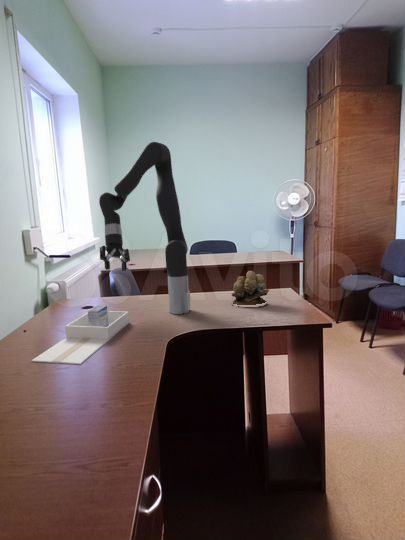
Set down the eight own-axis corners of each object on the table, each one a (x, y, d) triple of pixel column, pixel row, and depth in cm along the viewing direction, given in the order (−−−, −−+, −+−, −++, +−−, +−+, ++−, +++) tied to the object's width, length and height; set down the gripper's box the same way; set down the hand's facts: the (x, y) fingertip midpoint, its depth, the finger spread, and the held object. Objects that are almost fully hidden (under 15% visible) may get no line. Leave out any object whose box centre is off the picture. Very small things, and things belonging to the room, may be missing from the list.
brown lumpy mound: (266, 301, 167) (267, 267, 164) (270, 308, 156) (271, 272, 152) (231, 301, 168) (230, 268, 165) (232, 308, 156) (232, 273, 153)
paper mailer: (129, 322, 141) (128, 311, 140) (80, 364, 103) (78, 349, 103) (92, 321, 144) (91, 310, 143) (31, 361, 107) (29, 346, 106)
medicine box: (100, 332, 129) (98, 311, 127) (89, 332, 129) (87, 311, 128) (109, 325, 136) (107, 305, 135) (99, 325, 137) (97, 305, 135)
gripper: (104, 230, 143) (107, 267, 140) (131, 235, 154) (134, 269, 151) (95, 235, 148) (97, 271, 145) (121, 239, 158) (124, 272, 155)
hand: (116, 270), depth 148 cm, fingers open, 8 cm apart
